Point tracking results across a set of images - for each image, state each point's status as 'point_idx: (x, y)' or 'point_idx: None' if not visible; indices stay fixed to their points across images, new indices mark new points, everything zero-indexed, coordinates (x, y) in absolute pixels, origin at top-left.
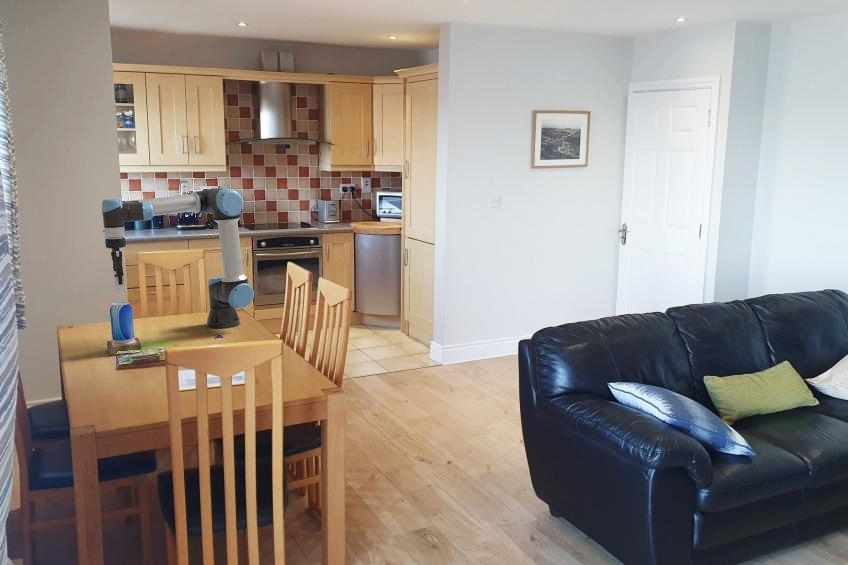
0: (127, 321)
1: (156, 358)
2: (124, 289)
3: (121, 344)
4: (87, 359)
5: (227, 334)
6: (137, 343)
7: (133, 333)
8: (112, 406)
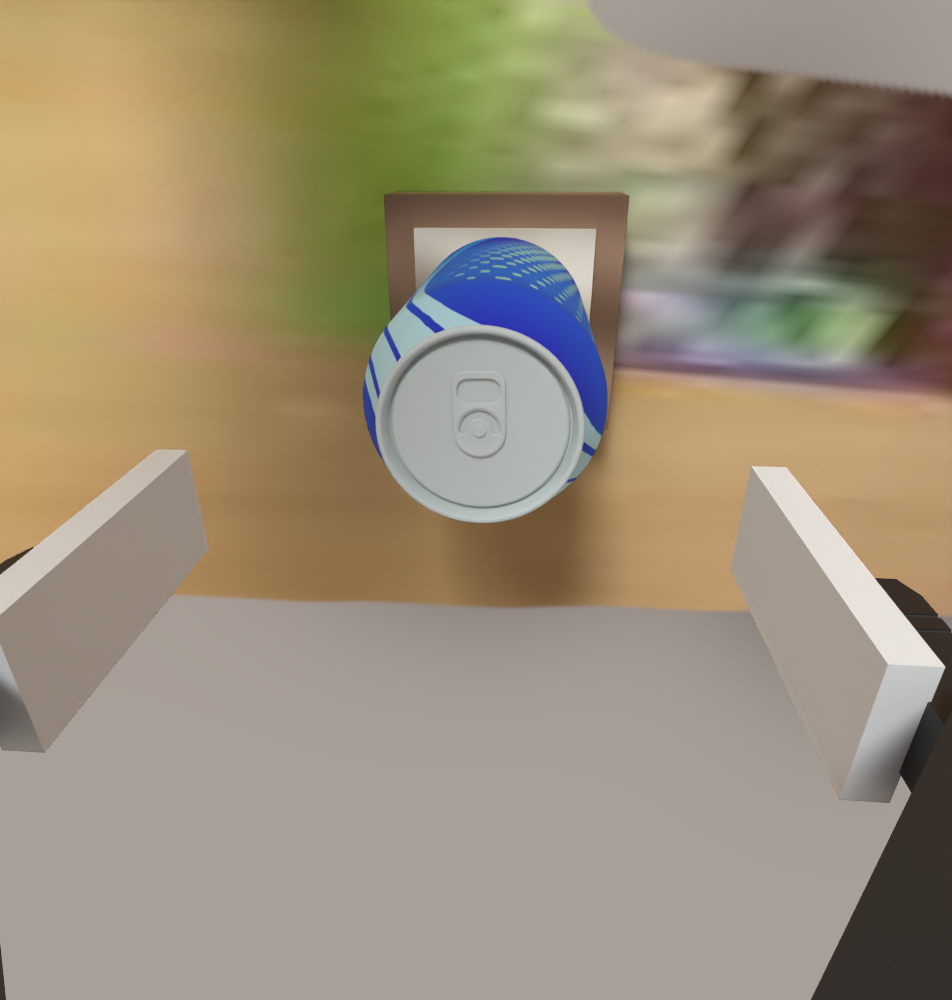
0: (589, 324)
1: (887, 93)
2: (805, 492)
3: None
4: (605, 525)
5: None
6: (593, 219)
7: (537, 250)
8: None
